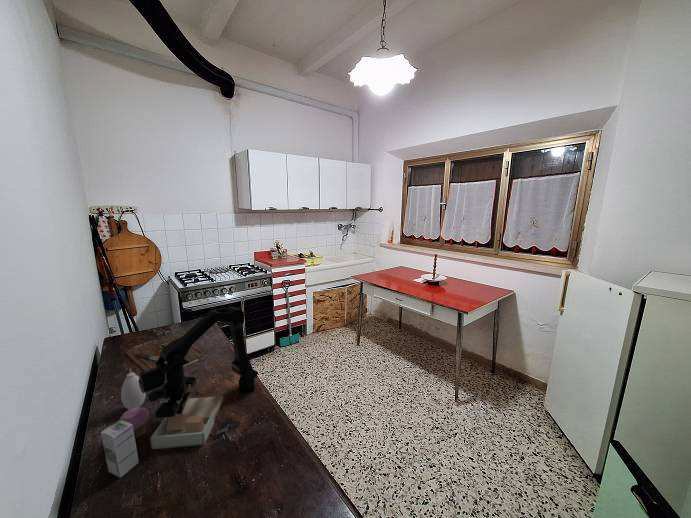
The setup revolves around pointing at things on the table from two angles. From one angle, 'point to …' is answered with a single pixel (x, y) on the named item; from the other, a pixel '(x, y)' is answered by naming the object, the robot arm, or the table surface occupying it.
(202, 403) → the beige flat panel
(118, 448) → the syrup box
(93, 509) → the table surface
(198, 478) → the table surface
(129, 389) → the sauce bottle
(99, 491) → the table surface
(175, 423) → the tile
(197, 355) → the chopping board
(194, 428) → the tile
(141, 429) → the cupcake
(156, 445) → the tray
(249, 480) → the table surface
